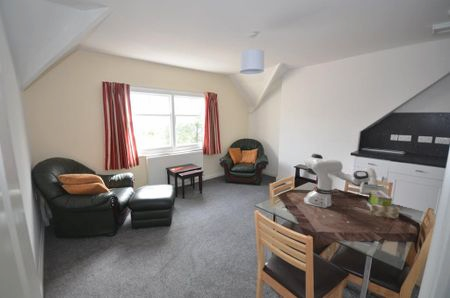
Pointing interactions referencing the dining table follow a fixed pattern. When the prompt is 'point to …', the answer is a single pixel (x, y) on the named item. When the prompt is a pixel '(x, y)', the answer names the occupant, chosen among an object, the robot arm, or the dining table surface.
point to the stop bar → (384, 211)
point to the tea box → (379, 198)
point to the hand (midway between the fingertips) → (374, 199)
